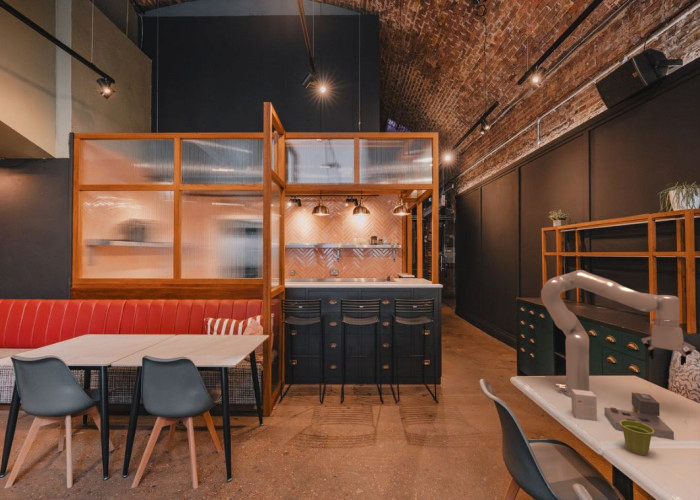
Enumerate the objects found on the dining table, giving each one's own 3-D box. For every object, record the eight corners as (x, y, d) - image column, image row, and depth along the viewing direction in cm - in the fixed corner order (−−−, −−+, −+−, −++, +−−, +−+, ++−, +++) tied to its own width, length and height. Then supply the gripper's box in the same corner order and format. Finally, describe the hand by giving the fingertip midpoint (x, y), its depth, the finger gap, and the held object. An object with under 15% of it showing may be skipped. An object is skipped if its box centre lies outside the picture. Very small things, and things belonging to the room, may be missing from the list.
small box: (592, 415, 145) (592, 391, 145) (597, 421, 139) (597, 396, 139) (571, 412, 147) (571, 388, 147) (575, 418, 142) (575, 393, 142)
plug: (640, 419, 141) (640, 399, 141) (631, 409, 149) (631, 391, 149) (659, 422, 138) (659, 402, 138) (649, 412, 147) (649, 393, 147)
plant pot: (613, 443, 123) (613, 420, 123) (636, 442, 124) (636, 419, 124) (637, 459, 114) (636, 434, 114) (661, 457, 115) (661, 432, 115)
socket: (615, 429, 132) (615, 420, 132) (604, 414, 145) (604, 406, 145) (673, 439, 126) (673, 430, 126) (656, 422, 138) (656, 413, 138)
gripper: (639, 320, 150) (639, 358, 150) (694, 328, 137) (693, 369, 137) (643, 318, 155) (643, 355, 155) (696, 325, 141) (696, 365, 141)
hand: (667, 361), depth 146 cm, fingers open, 9 cm apart
